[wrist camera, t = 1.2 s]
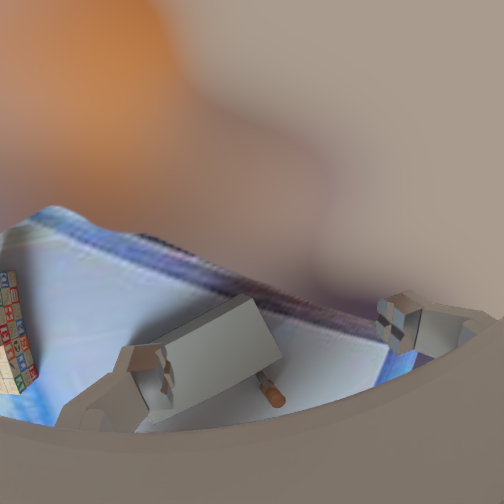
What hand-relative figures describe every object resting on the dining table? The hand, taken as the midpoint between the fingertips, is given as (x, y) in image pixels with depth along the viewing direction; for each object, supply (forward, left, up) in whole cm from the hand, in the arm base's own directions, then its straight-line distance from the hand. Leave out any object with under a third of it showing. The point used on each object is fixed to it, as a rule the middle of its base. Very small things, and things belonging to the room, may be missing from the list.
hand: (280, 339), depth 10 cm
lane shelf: (-12, +7, -39) cm, 41 cm away
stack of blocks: (+9, +39, -39) cm, 56 cm away
